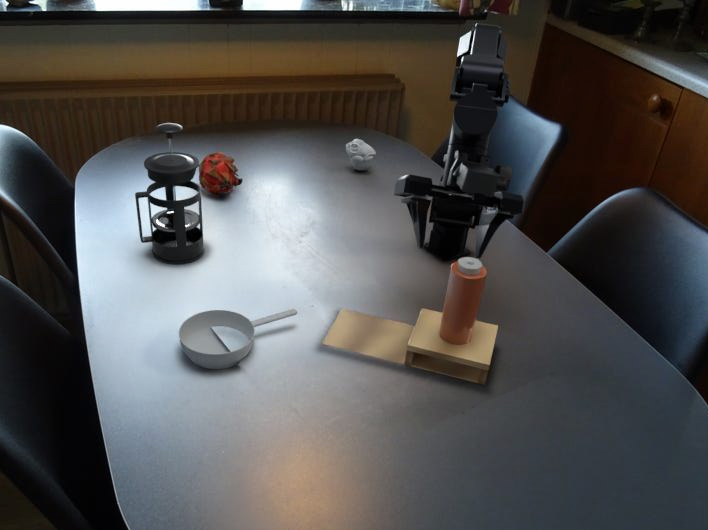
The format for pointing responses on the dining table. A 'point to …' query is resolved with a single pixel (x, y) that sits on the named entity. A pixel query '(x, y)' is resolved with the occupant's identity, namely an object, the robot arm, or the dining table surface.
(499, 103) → the robot arm
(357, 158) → the frog figurine
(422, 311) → the stand
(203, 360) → the saucepan
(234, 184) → the dragon fruit
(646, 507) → the dining table surface
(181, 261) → the french press
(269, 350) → the dining table surface
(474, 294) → the pepper mill
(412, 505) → the dining table surface
